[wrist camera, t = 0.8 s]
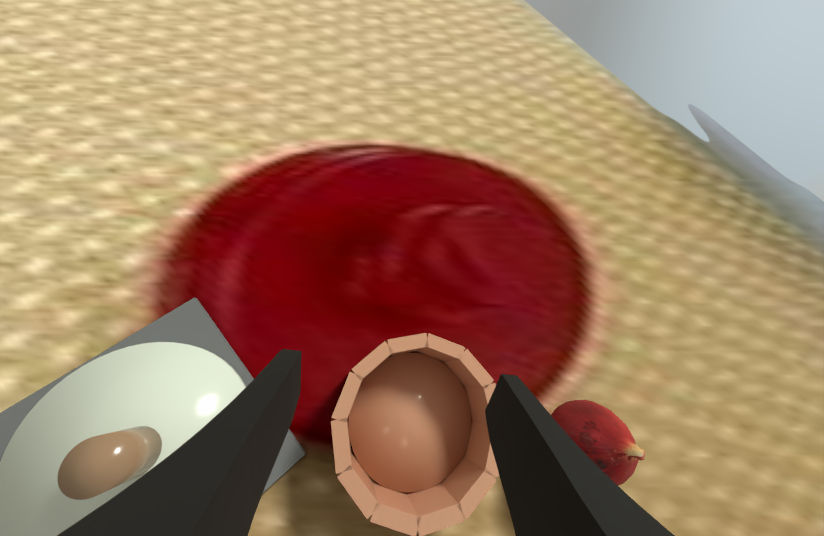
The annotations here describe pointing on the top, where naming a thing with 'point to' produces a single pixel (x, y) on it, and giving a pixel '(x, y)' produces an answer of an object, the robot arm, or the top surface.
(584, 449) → the onion
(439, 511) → the bowl
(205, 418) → the lid
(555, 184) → the top surface
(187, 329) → the mat
